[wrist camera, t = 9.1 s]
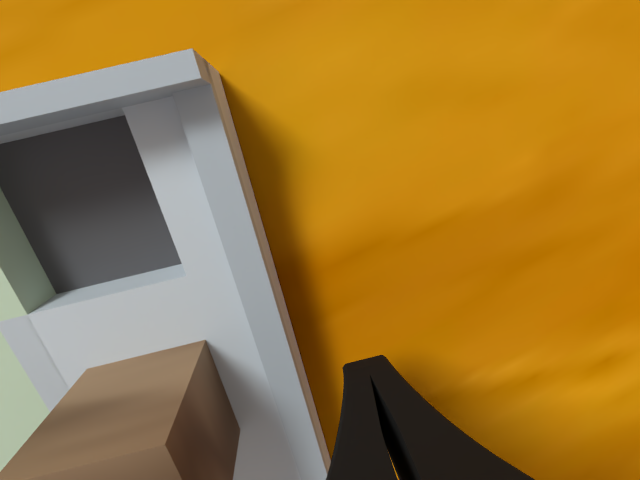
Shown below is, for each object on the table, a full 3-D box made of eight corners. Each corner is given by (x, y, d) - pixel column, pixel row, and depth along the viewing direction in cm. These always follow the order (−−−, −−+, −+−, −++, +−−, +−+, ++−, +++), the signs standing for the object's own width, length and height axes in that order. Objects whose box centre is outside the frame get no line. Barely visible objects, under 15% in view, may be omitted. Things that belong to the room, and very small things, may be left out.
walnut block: (240, 429, 13) (220, 558, 9) (134, 456, 12) (67, 598, 9) (205, 339, 11) (164, 444, 8) (86, 368, 11) (-15, 489, 7)
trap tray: (360, 563, 18) (374, 647, 15) (60, 642, 18) (15, 744, 15) (218, 71, 10) (191, 48, 7) (-311, 193, 10) (-559, 219, 7)
